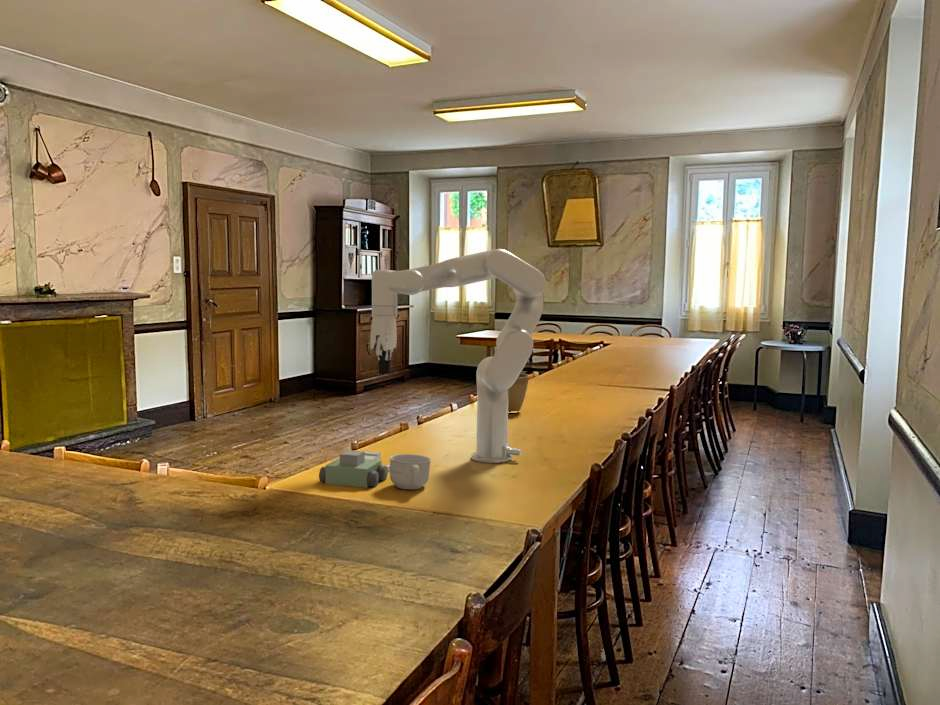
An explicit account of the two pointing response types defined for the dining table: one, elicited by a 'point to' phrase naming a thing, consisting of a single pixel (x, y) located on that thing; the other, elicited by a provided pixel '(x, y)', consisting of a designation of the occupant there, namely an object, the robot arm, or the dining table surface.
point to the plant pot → (517, 392)
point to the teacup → (409, 470)
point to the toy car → (354, 470)
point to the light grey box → (373, 455)
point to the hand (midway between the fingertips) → (384, 373)
